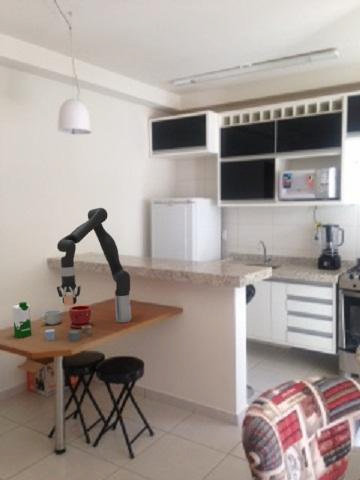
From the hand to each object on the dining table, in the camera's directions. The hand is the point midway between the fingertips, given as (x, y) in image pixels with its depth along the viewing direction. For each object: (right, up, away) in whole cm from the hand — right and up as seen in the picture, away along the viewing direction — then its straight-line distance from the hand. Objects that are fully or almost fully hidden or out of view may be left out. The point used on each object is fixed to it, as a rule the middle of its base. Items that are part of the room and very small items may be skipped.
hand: (69, 303), depth 245 cm
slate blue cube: (-11, -20, -2) cm, 23 cm away
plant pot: (+2, -18, +22) cm, 28 cm away
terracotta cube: (0, 0, 0) cm, 0 cm away
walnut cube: (+9, -19, +3) cm, 21 cm away
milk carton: (-29, -20, +6) cm, 36 cm away
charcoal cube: (+4, -20, -5) cm, 21 cm away
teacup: (-19, -18, +29) cm, 39 cm away
